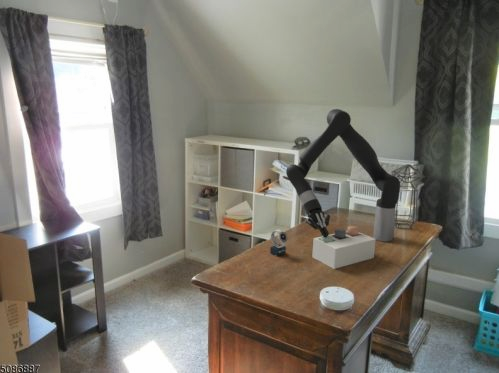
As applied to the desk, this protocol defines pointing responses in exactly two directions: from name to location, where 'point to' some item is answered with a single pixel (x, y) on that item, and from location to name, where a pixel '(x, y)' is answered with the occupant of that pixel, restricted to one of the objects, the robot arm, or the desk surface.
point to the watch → (278, 248)
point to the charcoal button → (340, 233)
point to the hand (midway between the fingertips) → (326, 236)
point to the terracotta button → (353, 231)
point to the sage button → (326, 239)
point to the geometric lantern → (408, 190)
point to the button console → (344, 250)
